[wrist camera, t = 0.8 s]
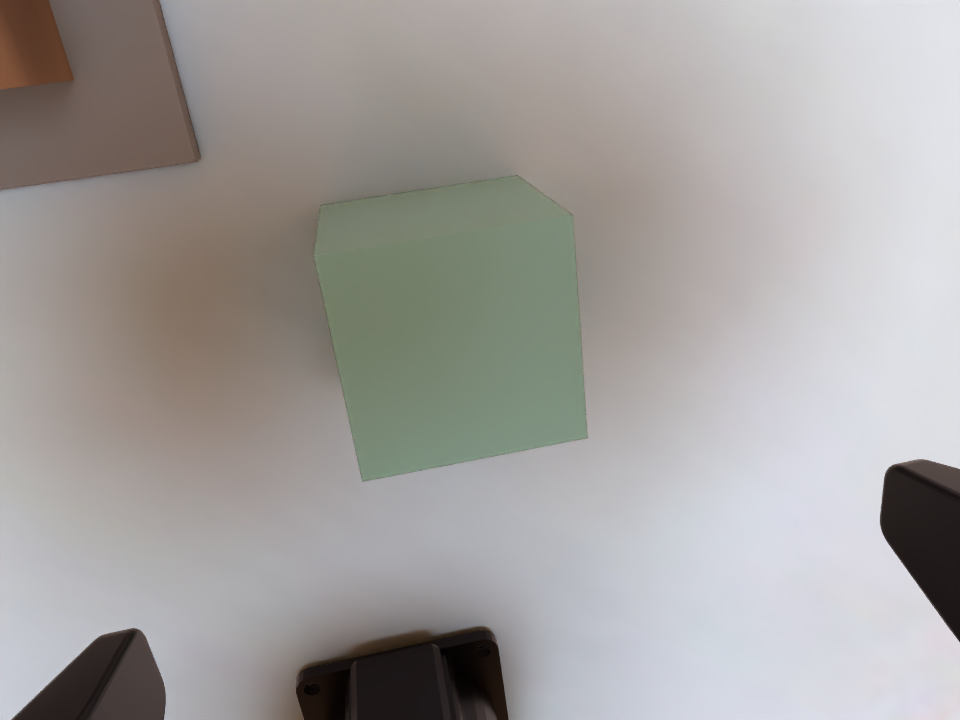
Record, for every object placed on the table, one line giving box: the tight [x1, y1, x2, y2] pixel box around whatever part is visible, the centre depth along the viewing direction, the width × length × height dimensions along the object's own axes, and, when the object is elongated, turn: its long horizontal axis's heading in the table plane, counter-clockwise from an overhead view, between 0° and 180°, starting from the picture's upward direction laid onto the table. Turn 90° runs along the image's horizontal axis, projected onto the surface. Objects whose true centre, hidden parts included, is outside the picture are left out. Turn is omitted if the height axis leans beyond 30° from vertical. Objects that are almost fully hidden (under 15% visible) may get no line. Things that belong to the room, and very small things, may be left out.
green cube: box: [314, 175, 588, 482], centre depth 17 cm, size 5×5×5 cm
